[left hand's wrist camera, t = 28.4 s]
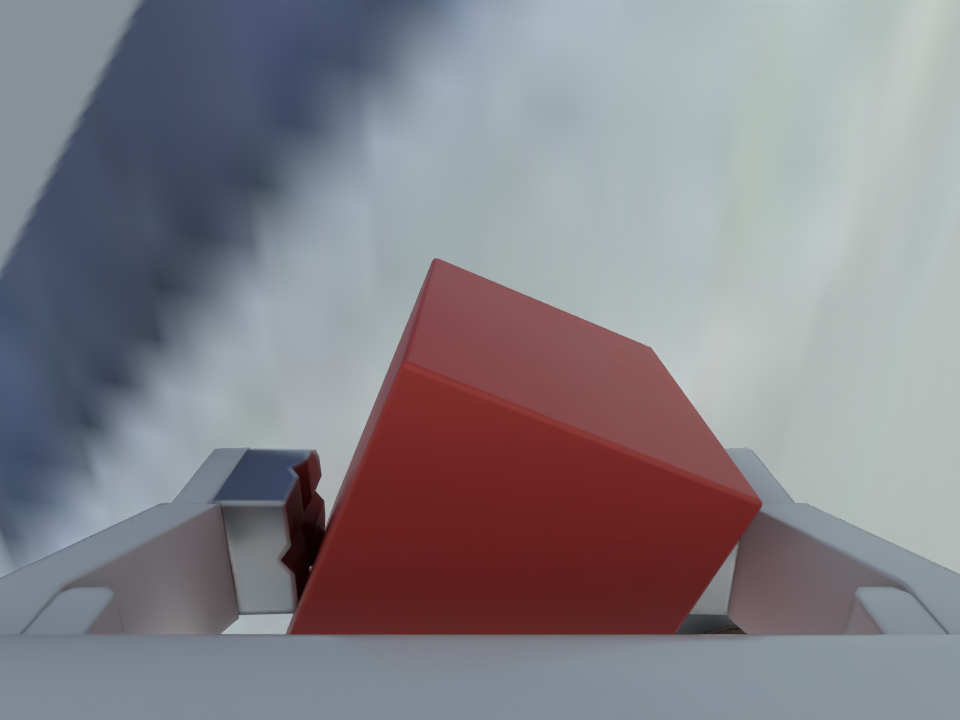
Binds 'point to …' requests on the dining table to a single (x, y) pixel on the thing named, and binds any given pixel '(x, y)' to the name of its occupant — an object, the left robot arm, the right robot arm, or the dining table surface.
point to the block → (523, 482)
